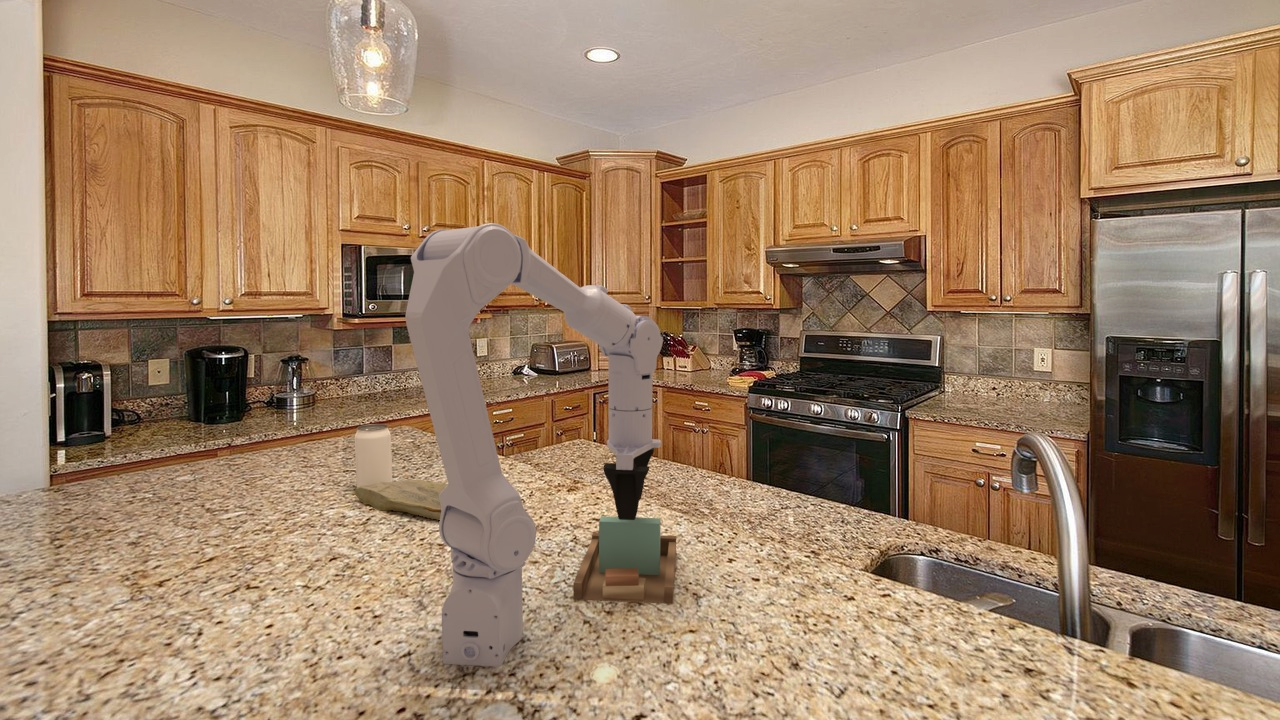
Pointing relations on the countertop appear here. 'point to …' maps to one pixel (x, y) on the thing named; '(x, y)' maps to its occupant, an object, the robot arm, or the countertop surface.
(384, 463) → the can
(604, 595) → the offcut lower
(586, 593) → the tray
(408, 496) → the stone slab
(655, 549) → the block
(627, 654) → the countertop surface
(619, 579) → the offcut upper
